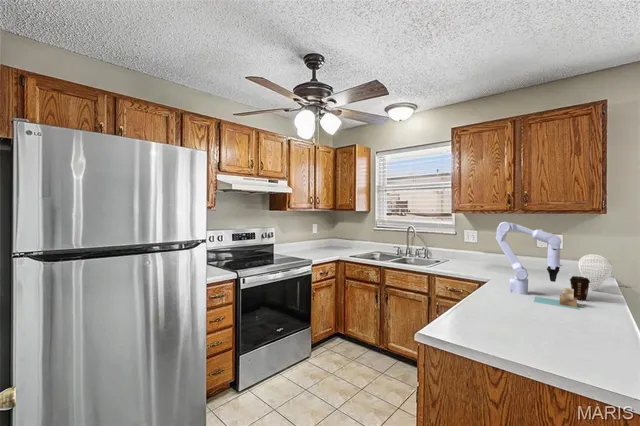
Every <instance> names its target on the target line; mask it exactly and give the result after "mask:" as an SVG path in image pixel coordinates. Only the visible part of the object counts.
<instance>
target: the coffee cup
mask: <svg viewBox="0 0 640 426" xmlns="http://www.w3.org/2000/svg"><path fill="white" fill-rule="evenodd" d="M588 278H589V277H588ZM588 278H584V277H582V276H577V275H573V276H571V277H570V278H569V281H570V289H574V297H575V298H577V301H582V302H587V297H588V294H589V293H588V292H589V289H590V288H589V283H590V282H591V281H589V279H588Z"/></svg>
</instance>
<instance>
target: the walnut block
mask: <svg viewBox="0 0 640 426" xmlns="http://www.w3.org/2000/svg"><path fill="white" fill-rule="evenodd" d="M559 300H560V303H559V305H565V306H571V307H577V303H578V300H577V298H575V297H573V299H567V298H562V295H559Z"/></svg>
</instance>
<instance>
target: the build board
mask: <svg viewBox="0 0 640 426" xmlns="http://www.w3.org/2000/svg"><path fill="white" fill-rule="evenodd" d="M533 303H537V304H543V305H550V306H555V307H561V308H562V307H563V308H568V309H573V310H580V302H579V303H578V302H577V307H571V306H565V305H559V303H560V299H553V298H547V297H543V296H534V299H533Z"/></svg>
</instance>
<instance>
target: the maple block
mask: <svg viewBox="0 0 640 426" xmlns="http://www.w3.org/2000/svg"><path fill="white" fill-rule="evenodd" d="M573 297H574V289H571V288H569V287H568V288H566V287H562V298H567V299H573Z"/></svg>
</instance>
